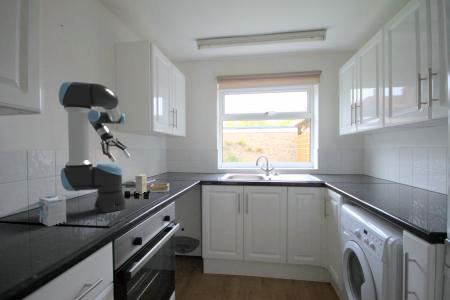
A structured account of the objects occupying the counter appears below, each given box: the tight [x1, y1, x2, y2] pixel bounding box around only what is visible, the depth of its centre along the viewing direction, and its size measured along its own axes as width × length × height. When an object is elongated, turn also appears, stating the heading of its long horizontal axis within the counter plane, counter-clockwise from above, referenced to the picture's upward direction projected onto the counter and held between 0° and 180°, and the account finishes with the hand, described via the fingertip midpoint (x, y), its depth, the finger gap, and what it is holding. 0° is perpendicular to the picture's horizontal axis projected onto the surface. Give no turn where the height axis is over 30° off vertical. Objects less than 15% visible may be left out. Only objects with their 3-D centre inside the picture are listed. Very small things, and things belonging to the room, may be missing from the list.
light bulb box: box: [38, 194, 67, 227], centre depth 101 cm, size 11×7×11 cm, turn 55°
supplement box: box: [135, 173, 148, 195], centre depth 160 cm, size 8×5×13 cm, turn 178°
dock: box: [149, 182, 170, 194], centre depth 170 cm, size 12×12×4 cm
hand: (122, 159), depth 161 cm, fingers open, 13 cm apart
